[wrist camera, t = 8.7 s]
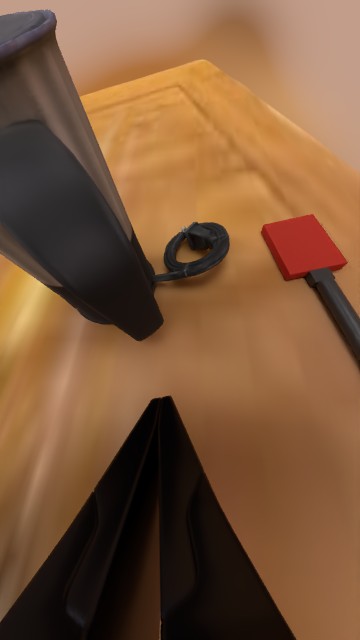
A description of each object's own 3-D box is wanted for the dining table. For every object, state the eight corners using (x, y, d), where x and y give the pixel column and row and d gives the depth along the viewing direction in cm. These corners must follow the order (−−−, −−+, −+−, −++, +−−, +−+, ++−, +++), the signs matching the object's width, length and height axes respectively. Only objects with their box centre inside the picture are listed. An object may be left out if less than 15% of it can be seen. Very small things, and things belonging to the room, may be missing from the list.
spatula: (451, 430, 12) (482, 435, 11) (369, 445, 12) (389, 451, 11) (307, 221, 20) (315, 210, 19) (260, 232, 20) (264, 221, 19)
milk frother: (59, 299, 20) (-253, 90, 6) (143, 211, 24) (69, -27, 10) (159, 369, 16) (-126, 199, 2) (240, 248, 20) (328, -71, 6)
